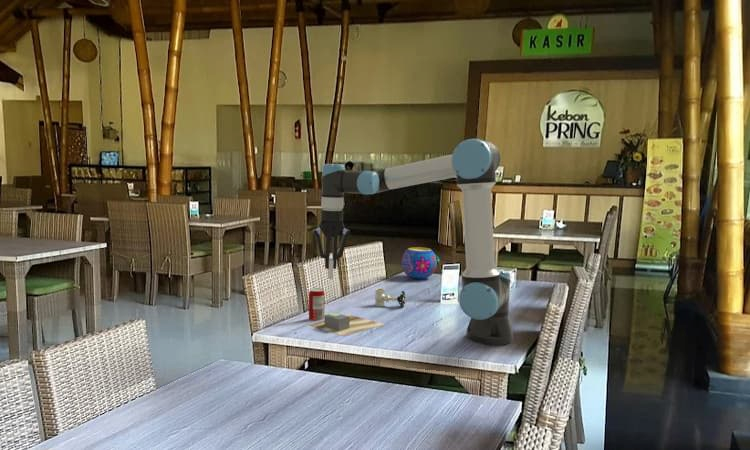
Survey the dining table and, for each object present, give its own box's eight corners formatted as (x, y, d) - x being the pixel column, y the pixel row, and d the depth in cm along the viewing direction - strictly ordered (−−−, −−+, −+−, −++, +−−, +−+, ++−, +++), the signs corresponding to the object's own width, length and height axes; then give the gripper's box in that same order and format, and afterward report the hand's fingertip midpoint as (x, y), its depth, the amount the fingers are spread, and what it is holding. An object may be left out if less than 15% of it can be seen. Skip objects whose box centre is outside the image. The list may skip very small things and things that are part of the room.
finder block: (349, 328, 193) (349, 315, 192) (338, 331, 189) (338, 318, 189) (335, 324, 197) (335, 311, 197) (324, 326, 194) (324, 314, 193)
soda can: (315, 318, 208) (315, 286, 207) (327, 321, 205) (327, 288, 204) (305, 322, 203) (305, 289, 202) (318, 324, 201) (318, 291, 199)
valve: (372, 307, 228) (402, 309, 225) (372, 290, 227) (402, 293, 224) (376, 303, 234) (405, 305, 231) (377, 287, 233) (405, 289, 230)
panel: (385, 327, 199) (385, 324, 198) (343, 339, 184) (343, 336, 184) (348, 317, 211) (348, 314, 211) (307, 328, 196) (307, 324, 196)
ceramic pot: (443, 280, 284) (444, 250, 283) (413, 283, 275) (414, 252, 274) (423, 273, 299) (424, 245, 298) (394, 276, 290) (395, 247, 289)
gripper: (349, 208, 198) (347, 275, 201) (311, 208, 195) (310, 275, 198) (353, 210, 191) (350, 280, 193) (314, 210, 188) (312, 280, 191)
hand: (330, 278), depth 196 cm, fingers closed
